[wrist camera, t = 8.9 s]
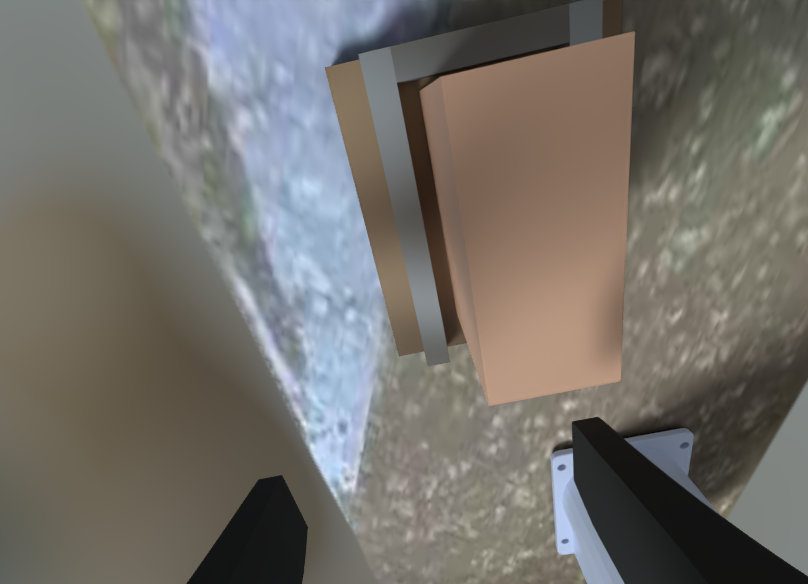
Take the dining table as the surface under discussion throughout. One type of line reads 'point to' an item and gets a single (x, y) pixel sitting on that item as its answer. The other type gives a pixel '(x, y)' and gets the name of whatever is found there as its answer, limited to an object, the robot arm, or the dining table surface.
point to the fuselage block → (537, 213)
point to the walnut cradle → (410, 160)
